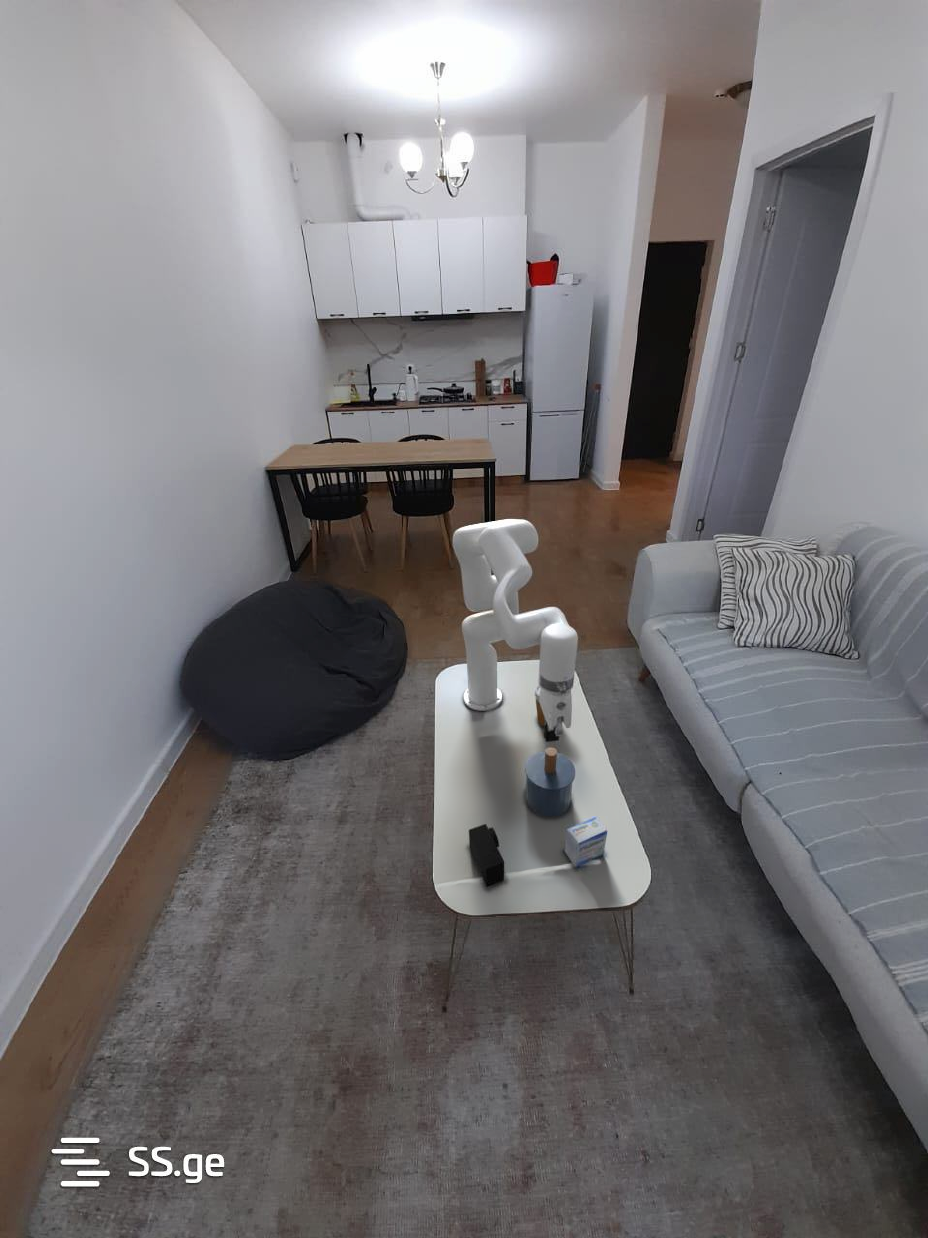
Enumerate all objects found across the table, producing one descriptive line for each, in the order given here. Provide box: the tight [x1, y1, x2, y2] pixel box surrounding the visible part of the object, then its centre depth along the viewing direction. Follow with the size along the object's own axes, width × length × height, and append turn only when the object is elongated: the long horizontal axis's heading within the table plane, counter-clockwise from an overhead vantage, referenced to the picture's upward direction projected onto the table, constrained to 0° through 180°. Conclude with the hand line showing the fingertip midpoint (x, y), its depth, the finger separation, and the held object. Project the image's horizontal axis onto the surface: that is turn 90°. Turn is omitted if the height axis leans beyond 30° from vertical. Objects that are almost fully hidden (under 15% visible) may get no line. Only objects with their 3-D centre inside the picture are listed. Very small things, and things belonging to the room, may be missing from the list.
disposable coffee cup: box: [533, 683, 547, 728], centre depth 149 cm, size 10×10×12 cm
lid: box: [524, 746, 576, 791], centre depth 120 cm, size 12×12×7 cm
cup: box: [525, 777, 573, 817], centre depth 125 cm, size 11×11×10 cm
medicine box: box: [564, 816, 608, 868], centre depth 112 cm, size 8×4×9 cm, turn 114°
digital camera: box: [468, 823, 505, 888], centre depth 111 cm, size 10×5×7 cm, turn 21°
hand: (551, 738), depth 117 cm, fingers closed
